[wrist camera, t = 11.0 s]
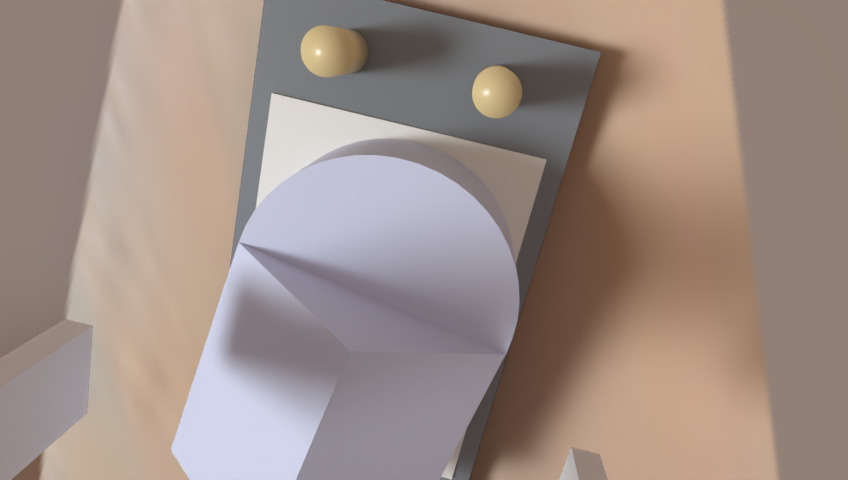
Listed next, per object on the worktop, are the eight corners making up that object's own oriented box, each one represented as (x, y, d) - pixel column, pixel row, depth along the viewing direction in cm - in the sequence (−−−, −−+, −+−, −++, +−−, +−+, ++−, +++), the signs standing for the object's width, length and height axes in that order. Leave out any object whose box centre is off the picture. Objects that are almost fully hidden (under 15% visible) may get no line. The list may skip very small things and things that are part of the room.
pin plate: (448, 531, 26) (442, 612, 23) (211, 471, 27) (166, 541, 23) (595, 52, 20) (622, 52, 16) (277, -24, 20) (229, -42, 16)
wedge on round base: (415, 480, 24) (557, 201, 20) (391, 633, 18) (592, 270, 14) (212, 397, 24) (315, 96, 20) (114, 522, 18) (236, 117, 14)
